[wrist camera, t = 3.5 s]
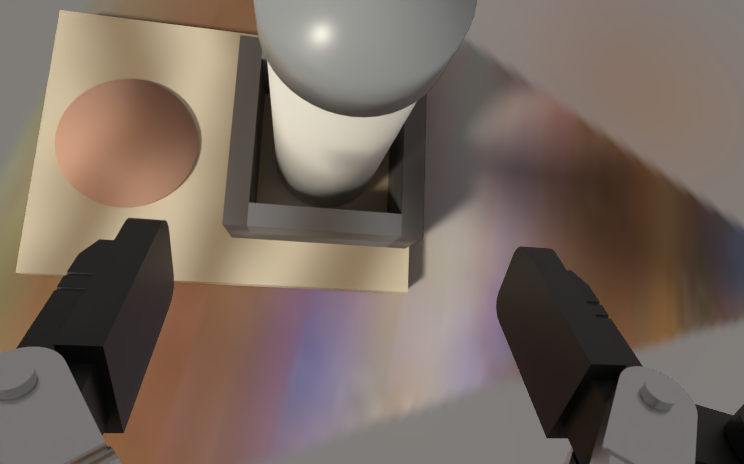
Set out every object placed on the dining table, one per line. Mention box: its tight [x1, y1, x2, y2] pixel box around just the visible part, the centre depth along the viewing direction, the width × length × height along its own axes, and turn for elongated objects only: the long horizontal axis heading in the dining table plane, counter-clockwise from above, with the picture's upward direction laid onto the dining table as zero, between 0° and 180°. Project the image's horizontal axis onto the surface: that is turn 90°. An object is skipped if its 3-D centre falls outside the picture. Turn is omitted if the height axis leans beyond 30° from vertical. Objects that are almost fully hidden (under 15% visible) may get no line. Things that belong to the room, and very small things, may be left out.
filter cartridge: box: [254, 0, 477, 208], centre depth 18 cm, size 5×5×14 cm
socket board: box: [16, 10, 426, 293], centre depth 23 cm, size 18×13×5 cm
